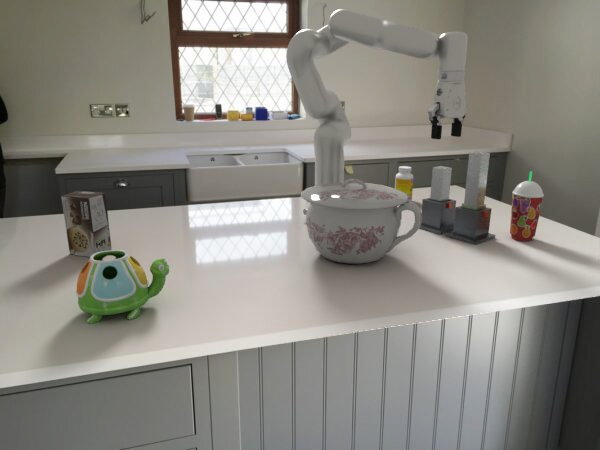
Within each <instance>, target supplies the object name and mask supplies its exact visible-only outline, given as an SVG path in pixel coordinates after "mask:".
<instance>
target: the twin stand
mask: <svg viewBox="0 0 600 450" xmlns="http://www.w3.org/2000/svg"><path fill="white" fill-rule="evenodd" d="M490 155H491V152H485V151H478V150H477V151H470V152H468V163H467V171H466V182H465V190H464V200H463V203H461V205H459V206H456V208H455V218H454V229H453V231H450V232H447V233H445V237H448V238H451V239H455V240H458V241H461V242H465V243H468V244H471V245H479V244H482V243H485V242H488V241H491V240H493V239H494V240H495V238H496V234H493V233H490V225H491V217H492V216H491V215H492V210H493V209H492V208H490V207H488V206H487V204H485V198H486V190H487V181H488V175H489V173H488V172H489V165H490Z"/></svg>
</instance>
